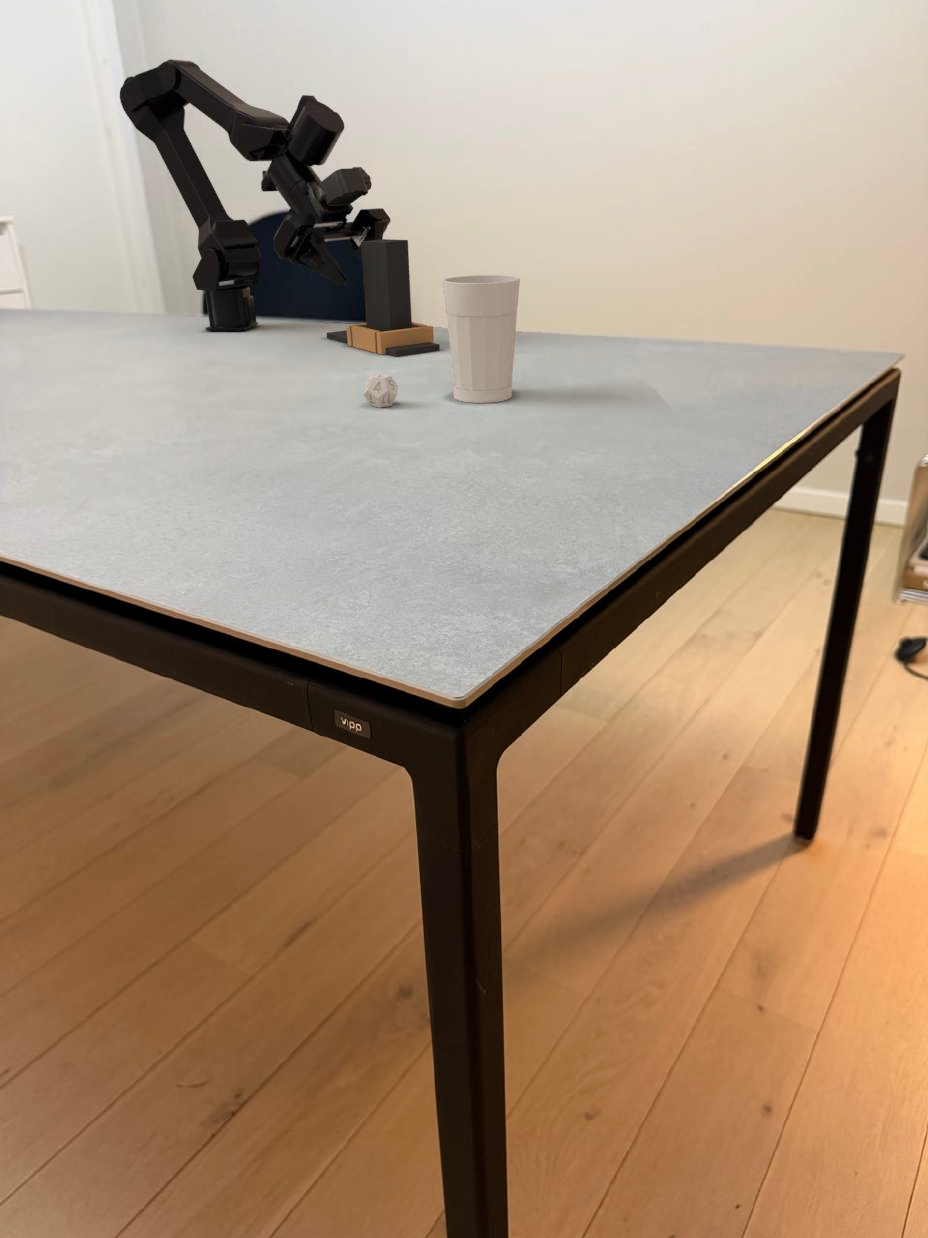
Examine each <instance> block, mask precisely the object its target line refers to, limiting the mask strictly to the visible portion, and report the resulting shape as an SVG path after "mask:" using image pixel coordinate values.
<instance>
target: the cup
mask: <svg viewBox="0 0 928 1238" xmlns="http://www.w3.org/2000/svg"><path fill="white" fill-rule="evenodd" d="M441 282H442V289H443V296H444V297H443V298H444V307H445V313H446V320H447V331H448V342H449V349H450V350H449V351H450V352H449V353H450V360H451V369H452V372H451V373H452V381H453V387H452V388H453V398H454V400H457V401H458V402H459V401H460V402H465V403H472V404H474V403H475V404H487V403H499V402H502V401H507V400H510V399H511V398H512V396H513V373H514V372H513V371H514V361H515V360H514V359H515V347H516V345H515V344H516V329H517V317H518V307H519V295H520V283H521V278H520V277H518V276H515V275H505V274H473V275H459V276H451V277H446V278H443V279H442V281H441Z"/></svg>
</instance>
